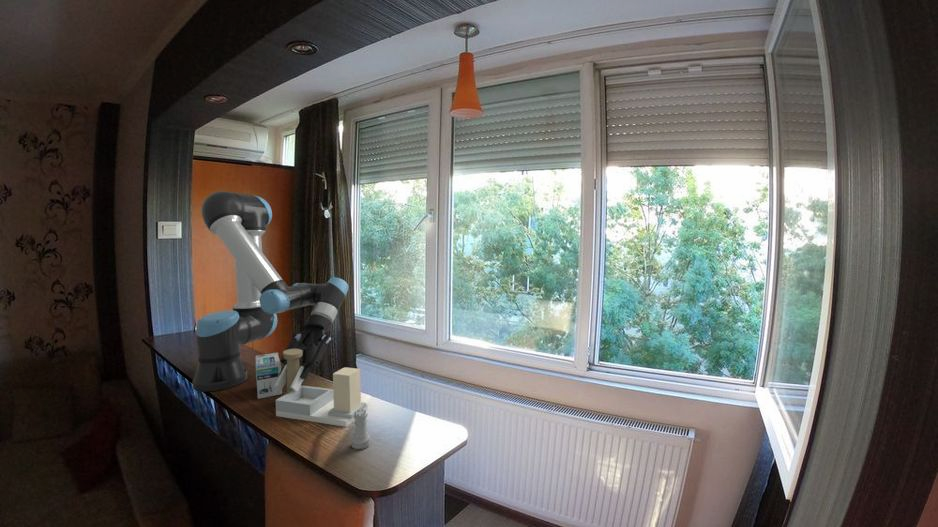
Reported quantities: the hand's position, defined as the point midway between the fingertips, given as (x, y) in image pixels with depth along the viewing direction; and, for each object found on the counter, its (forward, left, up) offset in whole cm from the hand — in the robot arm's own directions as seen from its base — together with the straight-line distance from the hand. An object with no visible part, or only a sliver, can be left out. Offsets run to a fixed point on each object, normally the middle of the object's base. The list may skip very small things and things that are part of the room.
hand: (286, 388), depth 101 cm
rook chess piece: (+31, -11, -6) cm, 34 cm away
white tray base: (+12, 0, -5) cm, 14 cm away
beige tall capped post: (-1, +4, -6) cm, 7 cm away
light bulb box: (-14, +7, -6) cm, 17 cm away
